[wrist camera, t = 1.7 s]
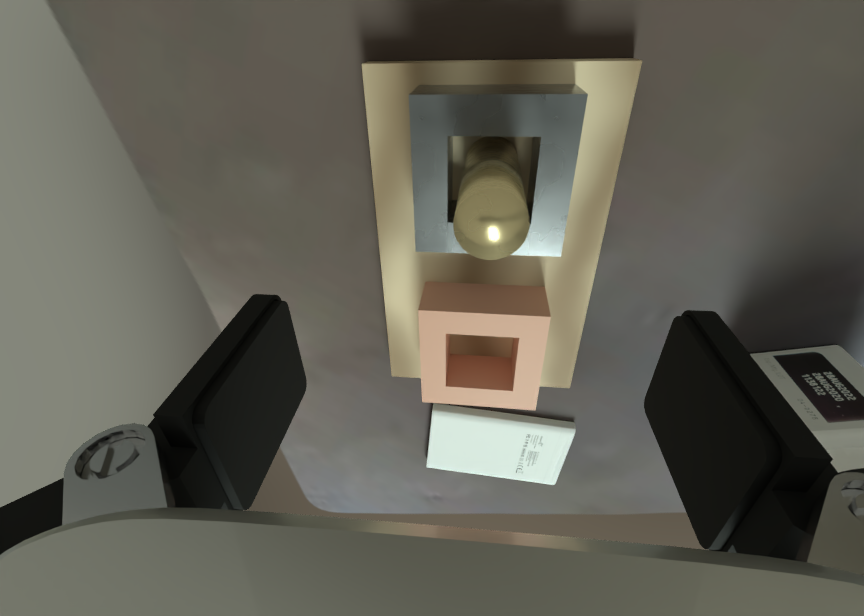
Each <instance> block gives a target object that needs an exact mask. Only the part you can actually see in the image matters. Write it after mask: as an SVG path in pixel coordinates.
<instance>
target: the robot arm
mask: <svg viewBox="0 0 864 616" xmlns="http://www.w3.org/2000/svg"><path fill="white" fill-rule="evenodd" d="M305 391H306V376H305V372H304V368H303V364H302V360H301V356H300V352H299V348H298V344H297V340H296V336H295V332H294V328H293V324H292V319H291V315H290V311H289V307H288V304H287V303H286V302H285V301H281V298H280V297H279V296H278V295H263V294H255V295H253V296H252V297H251V298H250V299H249V300H248V301H247V302H246V304H245V305H244V306H243V307H242V308H241V310H240V311H239V312H238V313H237V314H236V316H235V317H234V318H233V319H232V320H231V322H230V323H229V324H228V325H227V326H226V328H225V329H224V330H223V331H222V332H221V334H220V335H219V336H218V337H217V339H216V340H215V341H214V342H213V343H212V345H211V346H210V347H209V348H208V349H207V351H206V352H205V353H204V354H203V355H202V357H201V358H200V359H199V360H198V361H197V363H196V364H195V365H194V366H193V367H192V369H191V370H190V371H189V372H188V373H187V375H186V376H185V377H184V378H183V380H182V381H181V382H180V383H179V384H178V385H177V387H176V388H175V389H174V390H173V392H172V393H171V394H170V395H169V396H168V398H167V399H166V400H165V401H164V402H163V403H162V405H161V406H160V407H159V408H158V409H157V411H156V412H155V413H154V414H153V415H154V417H155V418H154V419H153V420H152V421H151V423H150V424H149V425H148V426H145V425H142V424H135V423H134V424H125V425H119V426H116V427H113V428H110V429H107V430H105V431H103V432H101V433H99V434H97V435H95V436H94V437H92V438H91V439H89V440H88V441H86V442H85V443H83V444H82V445H81V446H80V447H79V448H78V449H77V450H76V451H75V452H74V453H73V455H72V456H71V457H70V459H69V460H68V462H67V464H66V467H65V471H64V478H62V479H60V480H58V481H56V482H54V483H52V484H50V485H48V486H45V487H43V488H41V489H39V490H37V491H35V492H32V493H30V494H28V495H26V496H24V497H22V498H20V499H17V500H15V501H14V502H11V503H9V504H7V505H5V506H3V507H0V616H864V474H863V473H858V472H844V473H842V474H839V473H838V472H837V470H836V469H835V468H834V467H833V465H832V464H831V463H830V462H831V461H832V460H833V458H832V457H831V456H830V455H829V453H828V452H827V451H826V449H825V448H824V447H823V446H822V444H821V443H820V442H819V441H818V439H817V438H816V437H815V436H814V434H813V433H812V432H811V431H810V429H809V428H808V427H807V426H806V424H805V423H804V422H803V421H802V419H801V418H800V417H799V416H798V414H797V413H796V412H795V411H794V409H793V408H792V407H791V406H790V404H789V403H788V402H787V401H786V399H785V398H784V397H783V396H782V394H781V393H780V392H779V391H778V389H777V388H776V387H775V385H774V384H773V383H772V382H771V380H770V379H769V378H768V377H767V375H766V374H765V373H764V372H763V370H762V369H761V368H760V367H759V365H758V364H757V363H756V362H755V360H754V359H753V358H752V357H751V355H750V354H749V353H748V352H747V350H746V349H745V348H744V347H743V345H742V344H741V343H740V342H739V340H738V339H737V338H736V337H735V335H734V334H733V333H732V332H731V330H730V329H729V328H728V326H727V325H726V324H725V323H724V321H723V320H722V319H721V318H720V316H719V315H718V314H717V313H716V312H713V311H692V310H687V311H685V312H684V313H683V314H682V315H681V316H677V317H675V318H674V320H673V322H672V325H671V328H670V330H669V333H668V336H667V339H666V341H665V344H664V347H663V350H662V352H661V355H660V358H659V361H658V363H657V366H656V369H655V372H654V375H653V377H652V380H651V383H650V386H649V388H648V391H647V394H646V397H645V401H644V408H645V413H646V415H647V418H648V420H649V423H650V425H651V428H652V430H653V432H654V435H655V437H656V440H657V442H658V444H659V447H660V449H661V452H662V454H663V457H664V459H665V461H666V464H667V466H668V469H669V471H670V473H671V476H672V478H673V481H674V483H675V486H676V488H677V490H678V493H679V495H680V498H681V500H682V502H683V505H684V507H685V510H686V512H687V514H688V517H689V519H690V522H691V524H692V527H693V529H694V531H695V534H696V536H697V539H698V541H699V543H700V545H701V546H702V547H703V548H704V549H709V550H701V549H691V548H683V547H673V546H662V545H650V544H640V543H628V542H618V541H606V540H596V539H584V538H573V537H562V536H551V535H539V534H528V533H517V532H505V531H493V530H481V529H470V528H458V527H447V526H435V525H422V524H410V523H399V522H387V521H374V520H361V519H349V518H337V517H324V516H311V515H298V514H287V513H273V512H258V511H243V510H247V509H249V507H250V506H251V505H252V503H253V501H254V499H255V497H256V495H257V493H258V491H259V488H260V486H261V484H262V482H263V480H264V478H265V476H266V474H267V472H268V470H269V467H270V465H271V463H272V461H273V459H274V457H275V455H276V453H277V450H278V449H279V446H280V444H281V442H282V440H283V438H284V436H285V434H286V432H287V430H288V427H289V425H290V423H291V421H292V419H293V417H294V415H295V413H296V411H297V408H298V406H299V404H300V402H301V400H302V398H303V396H304V394H305Z"/></svg>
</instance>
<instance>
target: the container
mask: <svg viewBox="0 0 864 616" xmlns="http://www.w3.org/2000/svg"><path fill="white" fill-rule="evenodd" d="M750 355H751V357H752V358H753V359H754V360H755V362H756V363H757V364H758V365H759V367H760V368H761V369H762V370H763V372H764V373H765V374H766V375H767V377H768V378H769V379H770V380H771V382H772V383H773V384H774V385H775V387H776V388H777V389H778V391H779V392H780V393H781V394H782V396H783V397H784V398H785V399H786V401H787V402H788V403H789V404H790V406H791V407H792V408H793V409H794V411H795V412H796V413H797V414H798V416H799V417H800V418H801V419H802V421H803V422H804V423H805V424H806V426H807V427H808V428H809V429H810V431H811V432H812V433H813V434H814V436H815V437H816V438H817V439H818V441H819V442H820V443H821V444H822V446H823V447H824V448H825V449H826V451H827V452H828V453H829V455H830V456H831V457H832V458H833V460H832V461H831V462H830V463H831V464H832V465H833V467H834V468H835V469H836V470H837V472H838V473H839V474H842V473H844V472H858V473H863V474H864V368H863V367H862V366H861V365H860V364H859V363H858V362H857V361H856V360H855V359H854V358H853V357H852V356H851V355H849V354H848V353H847V352H846V351H845V350H844V349H843V348H842V347H840V346H838V345H830V346H820V347H811V348H801V349H792V350H783V351H773V352H764V353H754V354H750Z"/></svg>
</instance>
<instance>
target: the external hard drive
mask: <svg viewBox="0 0 864 616" xmlns="http://www.w3.org/2000/svg"><path fill="white" fill-rule="evenodd" d="M575 431H576V428H575V424H574V422H568V421H561V420H554V419H547V418H540V417H532V416H525V415H518V414H511V413H503V412H496V411H489V410H481V409H474V408H467V407H459V406H452V405H445V404H437V403H433V408H432V417H431V427H430V437H429V447H428V457H427V466H426V467H429V468H436V469H443V470H450V471H458V472H465V473H472V474H479V475H486V476H493V477H501V478H508V479H515V480H523V481H530V482H537V483H543V484H551V485H555V483H556V481H557V478H558V476H559V473H560V470H561V468H562V465H563V463H564V460H565V458H566V455H567V453H568V450H569V448H570V445H571V442H572V440H573V437H574V435H575Z"/></svg>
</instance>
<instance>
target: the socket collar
mask: <svg viewBox="0 0 864 616" xmlns="http://www.w3.org/2000/svg"><path fill="white" fill-rule="evenodd" d="M418 317H419V340H420V362H421V385H422V402H429V403H443V404H456V405H470V406H484V407H497V408H511V409H524V410H536V404H537V398H538V392H539V386H540V380H541V374H542V368H543V362H544V356H545V350H546V343H547V337H548V331H549V325H550V319H551V315H550V310H549V305H548V299H547V294H546V289H545V287H541V286H518V285H495V284H471V283H448V282H425V285H424V289H423V293H422V297H421V301H420V305H419V309H418ZM450 334H460V335H478V336H495V337H513V345H512V354H511V358H508V357H491V356H475V355H459V354H450Z"/></svg>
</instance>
